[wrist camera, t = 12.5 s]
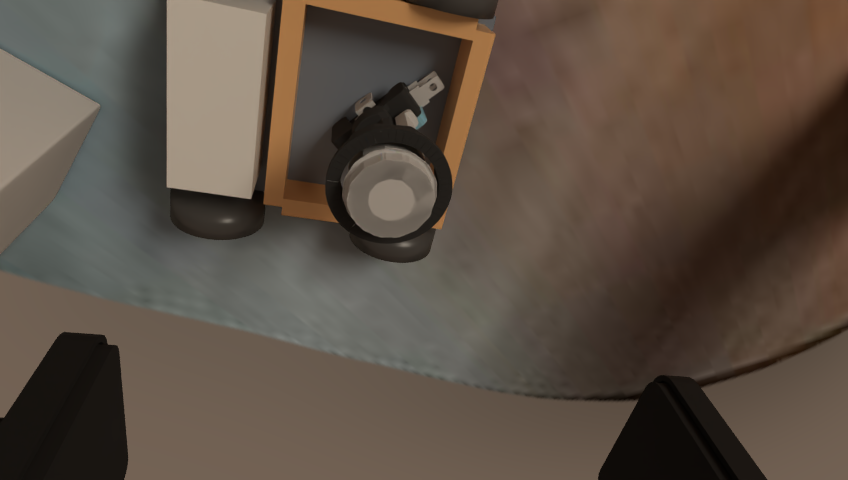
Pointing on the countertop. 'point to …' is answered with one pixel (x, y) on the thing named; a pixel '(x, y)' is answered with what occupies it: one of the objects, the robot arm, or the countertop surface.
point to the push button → (388, 167)
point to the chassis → (304, 100)
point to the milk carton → (35, 141)
